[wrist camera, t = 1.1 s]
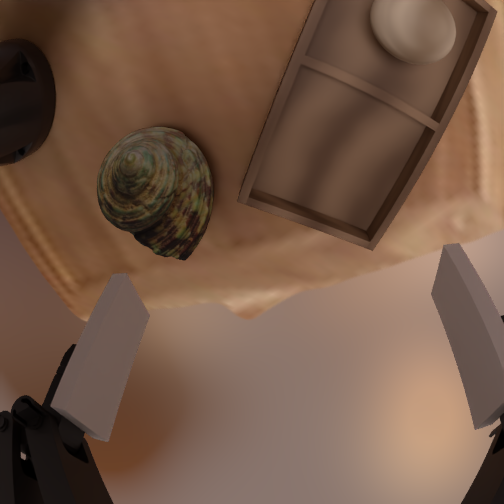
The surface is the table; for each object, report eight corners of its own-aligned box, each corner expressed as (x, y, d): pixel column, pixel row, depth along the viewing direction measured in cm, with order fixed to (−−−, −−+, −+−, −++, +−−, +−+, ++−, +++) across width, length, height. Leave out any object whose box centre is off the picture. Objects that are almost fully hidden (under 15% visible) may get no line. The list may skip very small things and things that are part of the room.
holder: (240, 188, 31) (236, 201, 28) (345, -69, 14) (351, -79, 12) (367, 235, 32) (372, 250, 30) (481, 11, 16) (497, 11, 14)
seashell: (115, 199, 33) (70, 254, 25) (140, 103, 26) (83, 135, 18) (202, 235, 35) (177, 302, 27) (244, 144, 28) (225, 193, 20)
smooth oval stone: (349, 38, 20) (369, 37, 15) (376, -23, 16) (402, -39, 11) (417, 74, 21) (452, 86, 16) (442, 16, 17) (482, 15, 12)
